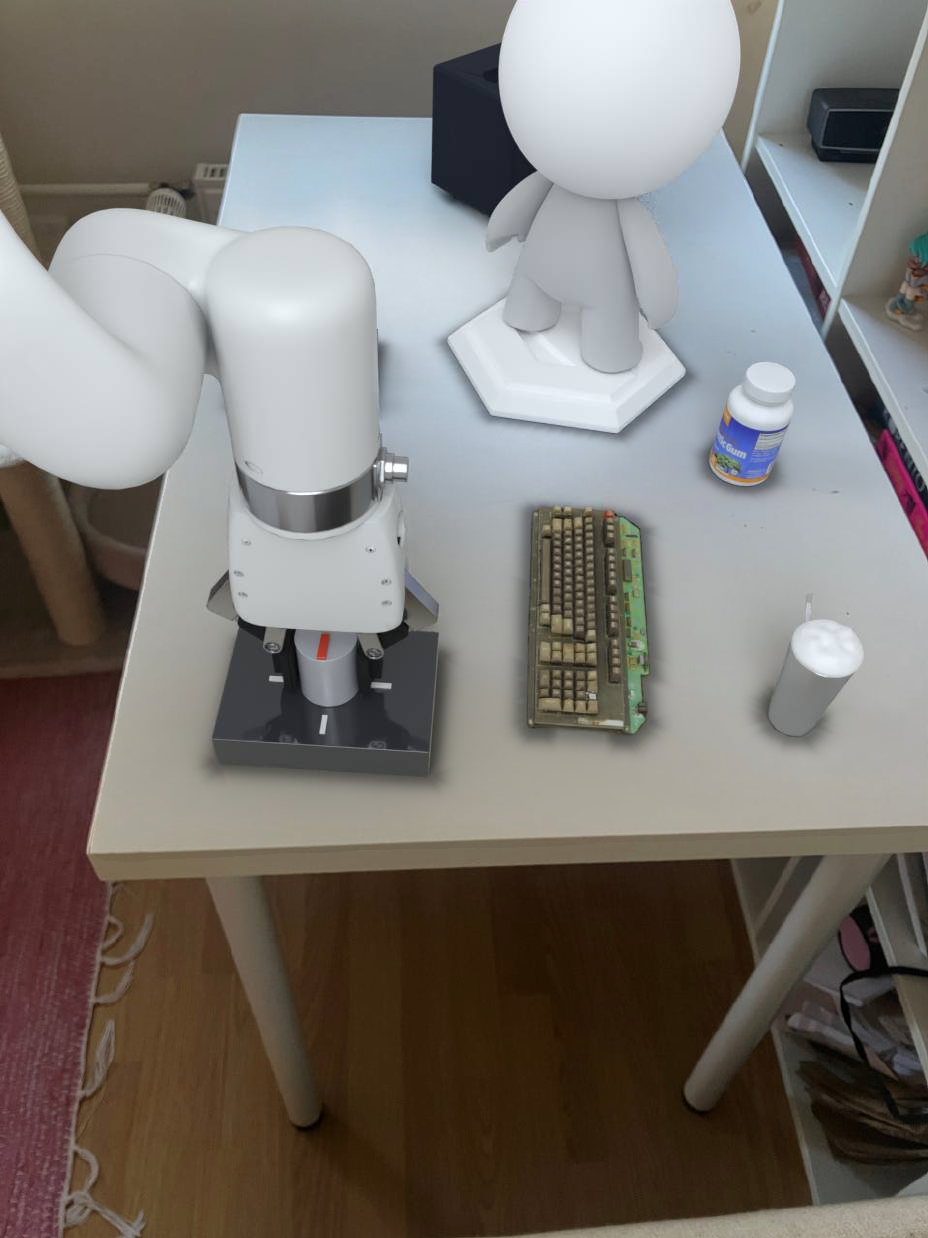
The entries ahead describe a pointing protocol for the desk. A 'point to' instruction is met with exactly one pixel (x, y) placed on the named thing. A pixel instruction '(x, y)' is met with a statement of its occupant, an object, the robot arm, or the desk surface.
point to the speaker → (473, 132)
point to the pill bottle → (753, 425)
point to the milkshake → (813, 673)
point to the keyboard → (586, 621)
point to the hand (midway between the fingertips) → (330, 675)
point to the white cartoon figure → (595, 202)
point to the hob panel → (330, 715)
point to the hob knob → (327, 665)
